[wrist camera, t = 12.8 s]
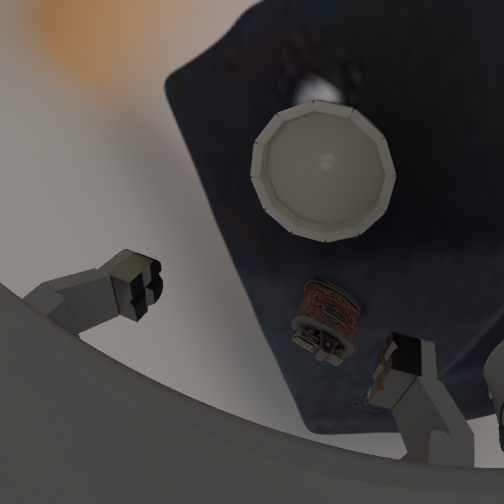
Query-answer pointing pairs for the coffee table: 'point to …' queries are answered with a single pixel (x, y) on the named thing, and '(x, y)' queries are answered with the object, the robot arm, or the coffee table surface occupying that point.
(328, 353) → the lighter
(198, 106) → the coffee table surface
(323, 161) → the ring dish
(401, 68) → the coffee table surface
